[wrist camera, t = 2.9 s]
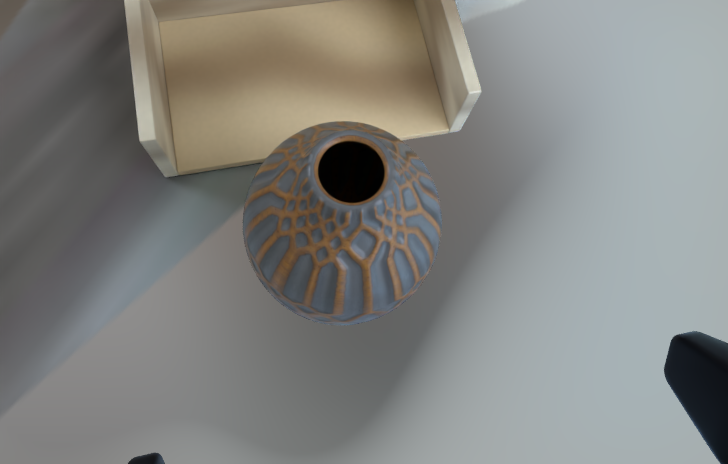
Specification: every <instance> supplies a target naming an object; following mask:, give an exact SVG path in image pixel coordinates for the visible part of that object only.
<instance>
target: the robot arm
mask: <svg viewBox="0 0 728 464" xmlns="http://www.w3.org/2000/svg"><path fill="white" fill-rule="evenodd" d="M664 373H665V377H666V380H667V382H668V384H669V385H670V387H671V389H672V390H673V392H674V393H675V395H676V396H677V398H678V399H679V401H680V402H681V404H682V406H683V407H684V409H685V410H686V412H687V414H688V415H689V417H690V418H691V420H692V421H693V423H694V425H695V426H696V428H697V429H698V431H699V432H700V434H701V435H702V437H703V438H704V440H705V441H706V443H707V445H708V446H709V448H710V449H711V451H712V452H713V454H714V455H715V457H716V458H717V459H718V461H719V462H720V463H721V464H728V343H726V342H723V341H721V340H718V339H716V338H713V337H711V336H709V335H706V334H703V333H701V332H697V331H693V332H688V333H684V334H679V335H676V336H674V337H673V339H672V340H671V343H670V347H669V351H668V355H667V359H666V363H665V367H664ZM128 464H165V463H164V460H163V458H162V456H161V455H160V454H159V453H151V454H147V455H143V456H138V457H135V458H133V459H132V460H131V461H129V463H128Z"/></svg>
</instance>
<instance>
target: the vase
mask: <svg viewBox="0 0 728 464" xmlns="http://www.w3.org/2000/svg"><path fill="white" fill-rule="evenodd" d="M441 229H442V217H441V207H440V202H439V197H438V193H437V190H436V187H435V184H434V182H433V180H432V177H431V175H430V173H429V172H428V170H427V168H426V167H425V165H424V163H423V162H422V161H421V159H420V158H419V157H418V156H417V155H416V153H415V152H414V151H413V150H412V149H411V148H410V147H409V146H408V145H406V144H405V143H404V142H403V141H401V140H400V139H399V138H397V137H396V136H394V135H392V134H391V133H389V132H387V131H385V130H383V129H380V128H378V127H375V126H372V125H369V124H365V123H359V122H352V121H334V122H327V123H321V124H318V125H314V126H311V127H308V128H306V129H304V130H301V131H299V132H298V133H296V134H294V135H292V136H291V137H289V138H288V139H286V140H285V141H283V142H282V143H281V144H280V145H279V146H277V147H276V148H275V149H274V150H273V151H272V152H271V153H270V155H269V156H268V157H267V158H266V159H265V161H264V162H263V163H262V165H261V166H260V168H259V169H258V171H257V173H256V175H255V177H254V179H253V181H252V183H251V185H250V188H249V191H248V194H247V197H246V201H245V206H244V213H243V235H244V242H245V247H246V251H247V254H248V257H249V260H250V263H251V265H252V267H253V269H254V271H255V273H256V275H257V277H258V278H259V280H260V281H261V282H262V284H263V285H264V287H265V288H266V289H267V290H268V292H269V293H270V294H271V295H272V296H273V297H274V298H275V299H276V300H277V301H278V302H280V303H281V304H282V305H283V306H285V307H286V308H288V309H289V310H291V311H293V312H294V313H296V314H298V315H300V316H302V317H304V318H306V319H309V320H312V321H315V322H320V323H324V324H330V325H352V324H359V323H363V322H367V321H371V320H373V319H376V318H379V317H381V316H383V315H385V314H387V313H389V312H391V311H393V310H394V309H396V308H397V307H398V306H400V305H401V304H403V303H404V302H405V301H406V300H407V299H409V298H410V297H411V296H412V295H413V294H414V293H415V291H416V290H417V289H418V288H419V287H420V285H421V284H422V283H423V281H424V280H425V278H426V277H427V275H428V273H429V272H430V270H431V268H432V266H433V263H434V261H435V258H436V255H437V252H438V248H439V244H440V239H441Z"/></svg>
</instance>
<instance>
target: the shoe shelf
mask: <svg viewBox="0 0 728 464" xmlns="http://www.w3.org/2000/svg"><path fill="white" fill-rule="evenodd" d="M124 4H125V13H126V22H127V31H128V40H129V50H130V59H131V68H132V77H133V86H134V96H135V105H136V114H137V123H138V132H139V141H140V143H141V144H142V145H143V147H144V148H145V150H146V151H147V153H148V154H149V155H150V157H151V158H152V160H153V161H154V162H155V164H156V165H157V167H158V168H159V169H160V171H161V172H162V174H163V175H164V176H165V177H172V176H178V175H185V174H192V173H198V172H204V171H211V170H217V169H223V168H230V167H236V166H243V165H249V164H255V163H262V162H264V161H265V159H266V158H267V157H268V156H269V155H270V153H271V152H272V151H273V150H274V149H275V148H276V147H277V146H279V145H280V144H281V143H282V142H283V141H285V140H286V139H288V138H289V137H291V136H292V135H294V134H296V133H298V132H299V131H301V130H304V129H306V128H308V127H311V126H314V125H318V124H321V123H327V122H334V121H352V122H359V123H365V124H369V125H372V126H375V127H378V128H380V129H383V130H385V131H387V132H389V133H391V134H392V135H394V136H396V137H397V138H399V139H400V140H401V141H402V140H408V139H415V138H421V137H427V136H434V135H440V134H447V133H451V132H458V131H460V130H461V128H462V126H463V124H464V123H465V121H466V119H467V117H468V115H469V114H470V112H471V110H472V108H473V106H474V105H475V103H476V101H477V99H478V97H479V96H480V94H481V92H482V90H481V87H480V83H479V80H478V77H477V74H476V70H475V67H474V64H473V60H472V57H471V53H470V50H469V47H468V43H467V40H466V37H465V33H464V30H463V27H462V23H461V20H460V16H459V13H458V10H457V6H456V3H455V0H124Z"/></svg>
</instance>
